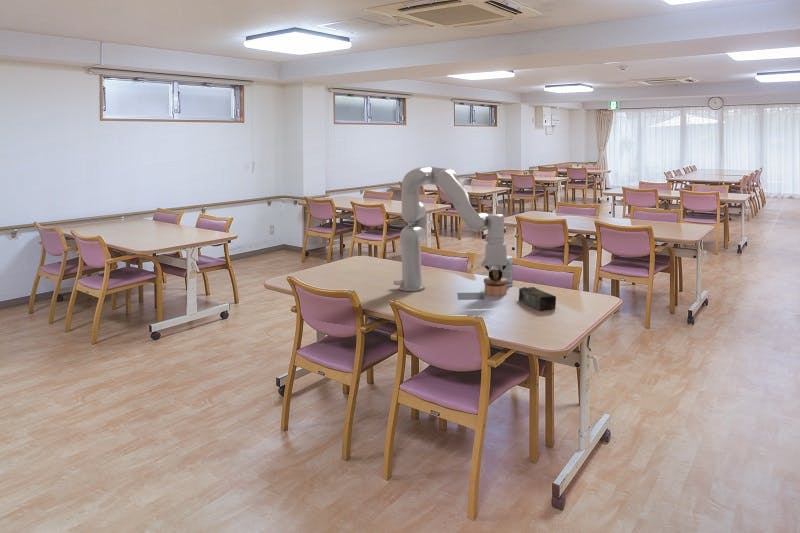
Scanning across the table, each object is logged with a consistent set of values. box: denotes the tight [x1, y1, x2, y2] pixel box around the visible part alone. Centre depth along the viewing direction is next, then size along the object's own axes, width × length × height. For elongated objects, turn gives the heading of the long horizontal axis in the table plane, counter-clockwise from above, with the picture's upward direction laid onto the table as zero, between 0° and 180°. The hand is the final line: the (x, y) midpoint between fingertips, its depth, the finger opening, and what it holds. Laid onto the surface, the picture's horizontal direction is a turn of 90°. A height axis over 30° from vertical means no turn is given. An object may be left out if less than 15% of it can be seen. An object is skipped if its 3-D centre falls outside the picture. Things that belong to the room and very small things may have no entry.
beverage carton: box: [518, 286, 557, 312], centre depth 266 cm, size 8×19×7 cm, turn 17°
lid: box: [483, 268, 507, 285], centre depth 284 cm, size 11×11×6 cm
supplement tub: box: [492, 254, 514, 287], centre depth 300 cm, size 10×10×15 cm
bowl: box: [484, 283, 508, 297], centre depth 285 cm, size 10×10×5 cm
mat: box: [456, 292, 485, 301], centre depth 282 cm, size 12×12×1 cm
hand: (495, 278), depth 284 cm, fingers closed on lid, 3 cm apart
